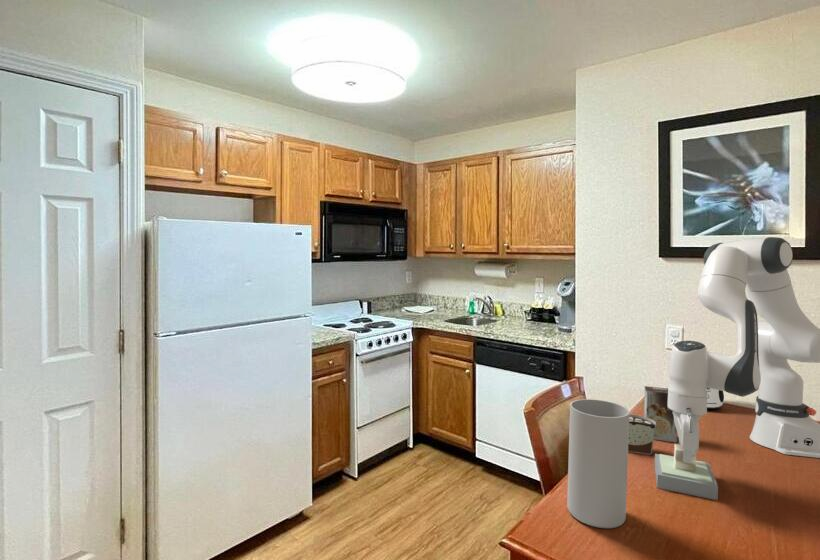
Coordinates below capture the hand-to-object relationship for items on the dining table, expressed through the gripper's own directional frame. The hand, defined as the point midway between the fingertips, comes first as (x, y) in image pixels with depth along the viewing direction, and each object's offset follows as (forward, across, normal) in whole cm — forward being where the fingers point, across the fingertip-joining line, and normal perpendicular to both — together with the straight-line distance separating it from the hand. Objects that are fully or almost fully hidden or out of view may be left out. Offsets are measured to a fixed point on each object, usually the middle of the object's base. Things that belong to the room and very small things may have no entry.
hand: (684, 454), depth 118 cm
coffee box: (+8, +31, +4) cm, 32 cm away
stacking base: (+7, 0, 0) cm, 7 cm away
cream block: (+3, 0, 0) cm, 3 cm away
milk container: (+8, +76, -12) cm, 77 cm away
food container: (+8, +17, +12) cm, 22 cm away
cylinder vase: (+8, -27, +20) cm, 34 cm away
